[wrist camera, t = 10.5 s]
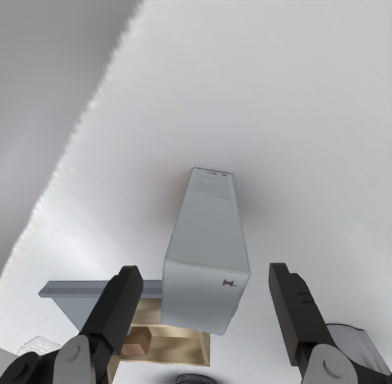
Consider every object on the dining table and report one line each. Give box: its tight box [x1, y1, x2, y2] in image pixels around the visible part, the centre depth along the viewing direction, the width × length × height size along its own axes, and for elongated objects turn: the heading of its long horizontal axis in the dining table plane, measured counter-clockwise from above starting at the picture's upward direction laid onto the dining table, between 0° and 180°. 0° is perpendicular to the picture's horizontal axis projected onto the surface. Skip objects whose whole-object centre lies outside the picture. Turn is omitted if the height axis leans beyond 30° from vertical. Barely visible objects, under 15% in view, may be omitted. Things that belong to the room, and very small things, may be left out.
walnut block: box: [121, 326, 152, 356], centre depth 31 cm, size 4×4×3 cm
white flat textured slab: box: [17, 336, 63, 356], centre depth 47 cm, size 13×20×2 cm, turn 43°
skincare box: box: [160, 168, 250, 335], centre depth 15 cm, size 6×4×12 cm
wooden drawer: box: [109, 298, 210, 382], centre depth 27 cm, size 16×12×9 cm
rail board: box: [38, 281, 162, 333], centre depth 31 cm, size 26×15×2 cm, turn 98°
